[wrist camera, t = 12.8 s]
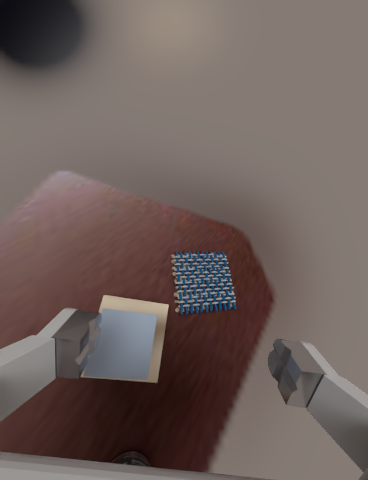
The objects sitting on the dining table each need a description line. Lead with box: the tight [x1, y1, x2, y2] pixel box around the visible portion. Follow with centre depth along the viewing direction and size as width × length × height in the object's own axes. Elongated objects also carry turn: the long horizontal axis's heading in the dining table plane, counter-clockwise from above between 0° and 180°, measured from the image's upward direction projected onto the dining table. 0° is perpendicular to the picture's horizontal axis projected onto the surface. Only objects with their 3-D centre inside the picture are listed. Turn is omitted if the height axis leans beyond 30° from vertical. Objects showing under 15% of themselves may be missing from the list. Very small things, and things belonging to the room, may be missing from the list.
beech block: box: [80, 295, 169, 383], centre depth 22 cm, size 8×8×5 cm
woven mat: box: [171, 251, 236, 315], centre depth 30 cm, size 10×11×2 cm
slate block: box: [83, 308, 157, 380], centre depth 16 cm, size 4×4×9 cm
